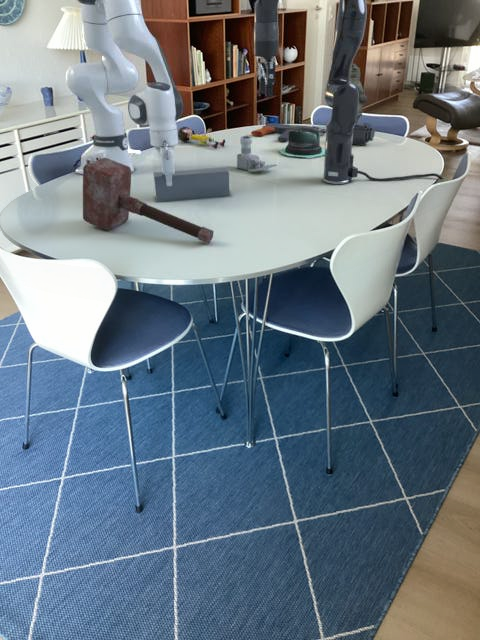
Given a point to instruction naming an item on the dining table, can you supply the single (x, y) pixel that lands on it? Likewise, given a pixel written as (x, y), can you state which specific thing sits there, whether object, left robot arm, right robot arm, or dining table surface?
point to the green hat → (303, 143)
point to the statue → (356, 81)
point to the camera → (249, 157)
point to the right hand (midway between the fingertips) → (266, 95)
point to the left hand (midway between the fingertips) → (168, 181)
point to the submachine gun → (281, 130)
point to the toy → (363, 134)
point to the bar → (193, 184)
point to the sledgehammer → (123, 200)
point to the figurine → (197, 137)
